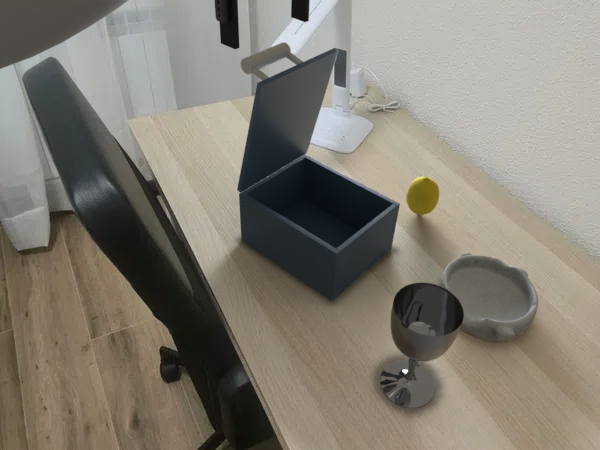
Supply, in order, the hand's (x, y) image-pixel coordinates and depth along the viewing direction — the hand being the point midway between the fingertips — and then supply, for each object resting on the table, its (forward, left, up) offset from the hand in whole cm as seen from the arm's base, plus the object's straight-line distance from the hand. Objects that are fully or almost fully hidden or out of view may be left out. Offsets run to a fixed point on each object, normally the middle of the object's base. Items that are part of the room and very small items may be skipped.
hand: (266, 32), depth 75 cm
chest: (0, -11, -33) cm, 35 cm away
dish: (+7, -38, -33) cm, 51 cm away
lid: (0, -4, -13) cm, 14 cm away
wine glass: (-12, -37, -33) cm, 51 cm away
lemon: (+19, -19, -33) cm, 43 cm away
